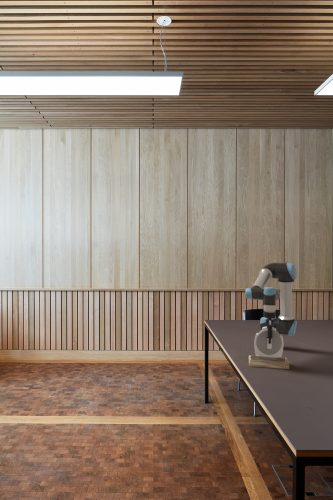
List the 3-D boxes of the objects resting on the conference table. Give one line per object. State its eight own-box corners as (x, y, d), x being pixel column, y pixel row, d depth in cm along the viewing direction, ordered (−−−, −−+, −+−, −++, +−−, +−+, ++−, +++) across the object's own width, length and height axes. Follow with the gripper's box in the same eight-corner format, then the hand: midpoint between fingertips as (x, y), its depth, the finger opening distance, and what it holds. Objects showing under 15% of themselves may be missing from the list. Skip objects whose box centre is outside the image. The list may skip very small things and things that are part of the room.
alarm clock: (283, 358, 273) (283, 326, 273) (283, 361, 265) (283, 328, 265) (254, 356, 278) (255, 324, 278) (253, 359, 270) (254, 326, 270)
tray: (248, 361, 280) (248, 355, 280) (286, 363, 276) (286, 357, 276) (249, 366, 267) (249, 360, 267) (289, 368, 263) (289, 362, 263)
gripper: (262, 309, 283) (261, 343, 283) (264, 313, 262) (264, 350, 261) (273, 309, 282) (273, 343, 282) (277, 314, 261) (276, 351, 260)
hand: (268, 347), depth 272 cm, fingers closed on alarm clock, 9 cm apart
